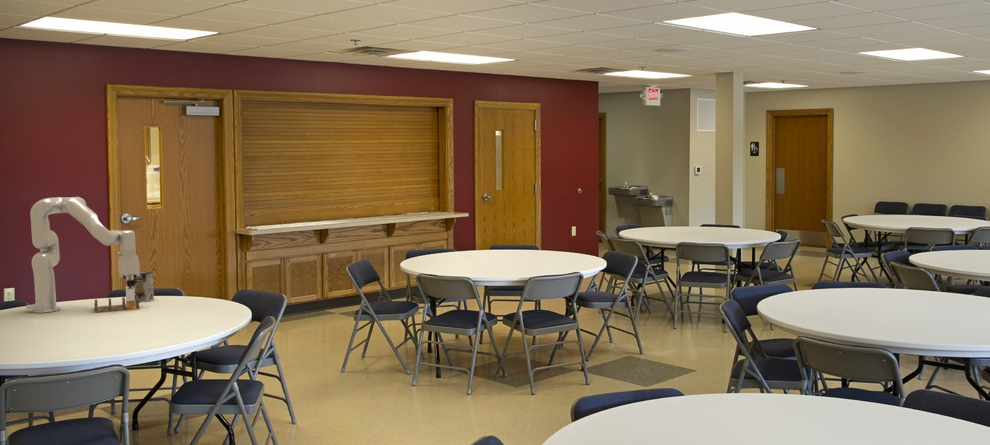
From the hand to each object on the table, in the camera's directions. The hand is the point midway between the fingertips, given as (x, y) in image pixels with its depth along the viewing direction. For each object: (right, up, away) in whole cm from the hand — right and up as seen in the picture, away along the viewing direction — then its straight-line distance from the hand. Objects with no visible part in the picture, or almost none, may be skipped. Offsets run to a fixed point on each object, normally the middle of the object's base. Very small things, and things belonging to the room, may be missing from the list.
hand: (130, 287), depth 448 cm
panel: (0, -10, +1) cm, 10 cm away
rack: (-6, -11, -2) cm, 13 cm away
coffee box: (-2, -9, +22) cm, 24 cm away
